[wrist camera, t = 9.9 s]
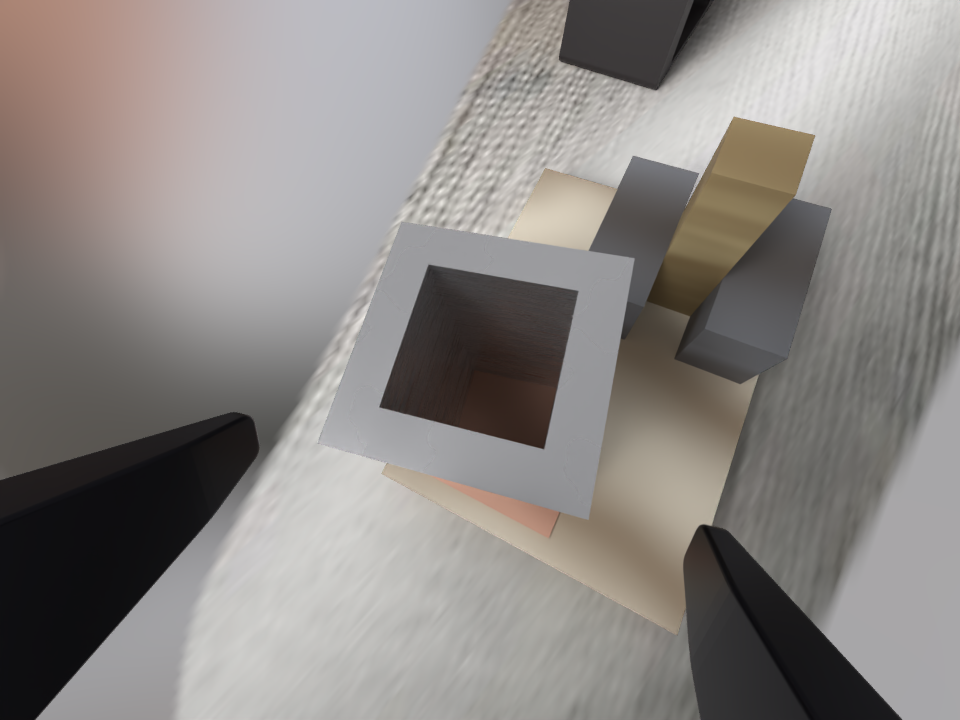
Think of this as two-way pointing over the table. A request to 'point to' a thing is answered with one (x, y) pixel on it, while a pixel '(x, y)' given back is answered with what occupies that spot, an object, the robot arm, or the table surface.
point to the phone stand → (629, 36)
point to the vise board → (658, 358)
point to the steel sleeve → (485, 361)
